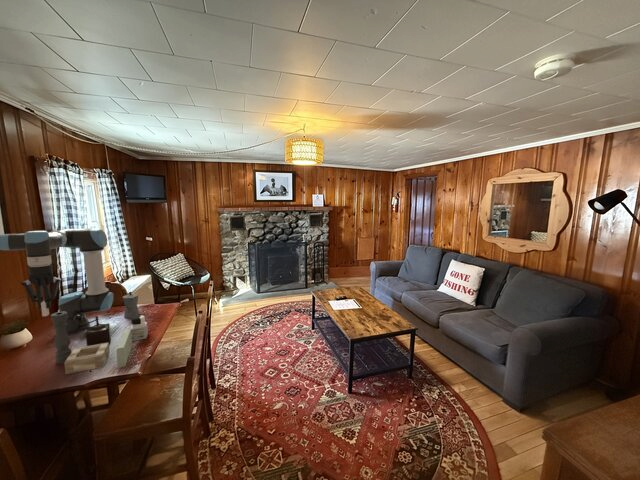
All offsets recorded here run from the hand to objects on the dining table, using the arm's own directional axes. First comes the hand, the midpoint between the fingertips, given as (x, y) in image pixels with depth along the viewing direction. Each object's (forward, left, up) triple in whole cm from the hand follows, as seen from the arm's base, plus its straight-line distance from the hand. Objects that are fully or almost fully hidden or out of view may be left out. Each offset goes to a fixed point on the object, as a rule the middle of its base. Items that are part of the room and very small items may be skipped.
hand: (45, 315), depth 123 cm
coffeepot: (-63, +23, -29) cm, 73 cm away
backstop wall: (-2, +28, -29) cm, 40 cm away
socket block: (-2, +13, -29) cm, 31 cm away
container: (-23, +32, -29) cm, 49 cm away
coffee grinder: (-24, +10, -29) cm, 39 cm away
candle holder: (-11, +1, -29) cm, 31 cm away
